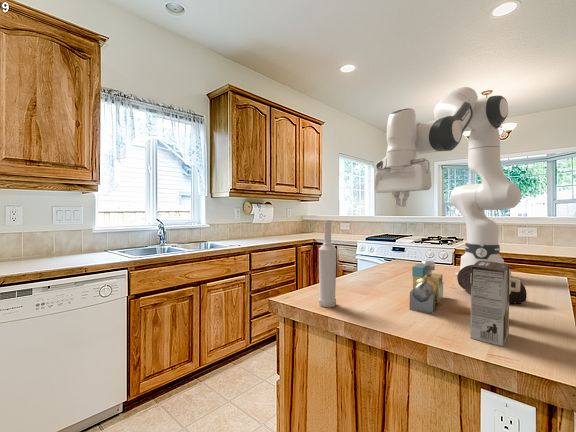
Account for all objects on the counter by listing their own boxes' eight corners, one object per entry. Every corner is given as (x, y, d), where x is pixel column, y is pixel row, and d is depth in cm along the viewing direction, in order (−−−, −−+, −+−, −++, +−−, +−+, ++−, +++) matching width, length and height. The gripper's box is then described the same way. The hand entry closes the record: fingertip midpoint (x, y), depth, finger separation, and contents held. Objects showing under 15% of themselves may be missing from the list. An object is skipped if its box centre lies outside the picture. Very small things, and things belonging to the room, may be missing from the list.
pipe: (529, 281, 88) (506, 263, 102) (471, 281, 92) (456, 264, 106) (527, 312, 90) (505, 290, 104) (470, 311, 94) (456, 290, 108)
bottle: (338, 307, 88) (339, 220, 88) (321, 308, 87) (322, 220, 87) (332, 301, 93) (333, 219, 93) (316, 302, 92) (316, 219, 92)
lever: (423, 268, 95) (423, 259, 95) (435, 269, 92) (435, 260, 92) (410, 275, 83) (410, 266, 83) (424, 277, 81) (424, 268, 81)
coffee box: (476, 326, 74) (478, 260, 74) (509, 333, 70) (511, 263, 69) (468, 338, 67) (470, 265, 67) (504, 347, 63) (506, 269, 62)
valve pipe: (421, 293, 103) (422, 264, 102) (445, 297, 99) (445, 266, 98) (407, 309, 86) (407, 275, 86) (434, 314, 82) (435, 278, 82)
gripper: (437, 157, 87) (436, 206, 87) (385, 166, 105) (385, 206, 106) (421, 156, 84) (420, 206, 85) (371, 165, 103) (370, 206, 103)
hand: (400, 206), depth 95 cm, fingers closed
